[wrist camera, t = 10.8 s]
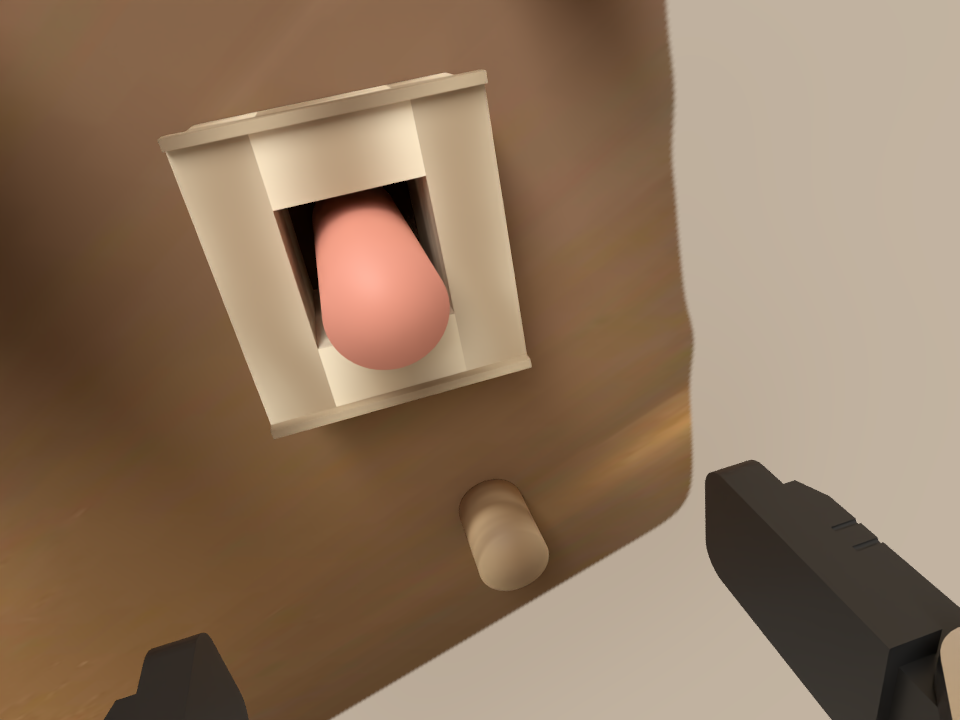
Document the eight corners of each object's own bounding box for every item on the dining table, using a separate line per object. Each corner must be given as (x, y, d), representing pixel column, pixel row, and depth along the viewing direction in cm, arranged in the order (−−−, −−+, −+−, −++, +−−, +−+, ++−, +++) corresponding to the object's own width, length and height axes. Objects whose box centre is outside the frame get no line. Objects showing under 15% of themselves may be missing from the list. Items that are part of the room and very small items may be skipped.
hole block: (277, 360, 33) (273, 439, 27) (189, 115, 28) (157, 139, 21) (486, 305, 35) (531, 367, 28) (443, 62, 29) (485, 70, 23)
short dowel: (465, 540, 41) (485, 599, 37) (453, 490, 40) (473, 546, 35) (525, 521, 42) (552, 577, 38) (517, 471, 40) (544, 524, 36)
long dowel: (325, 270, 32) (341, 384, 21) (301, 188, 30) (305, 268, 20) (406, 250, 32) (460, 351, 22) (387, 168, 31) (435, 236, 20)
